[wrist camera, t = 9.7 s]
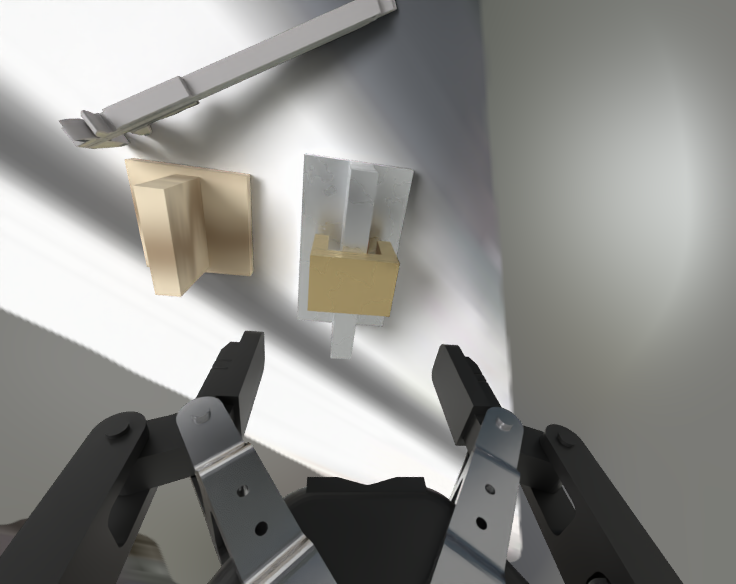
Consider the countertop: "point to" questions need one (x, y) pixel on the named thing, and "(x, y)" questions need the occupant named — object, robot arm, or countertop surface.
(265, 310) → the countertop surface
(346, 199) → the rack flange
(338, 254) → the u clip
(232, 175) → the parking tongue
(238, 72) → the caliper
